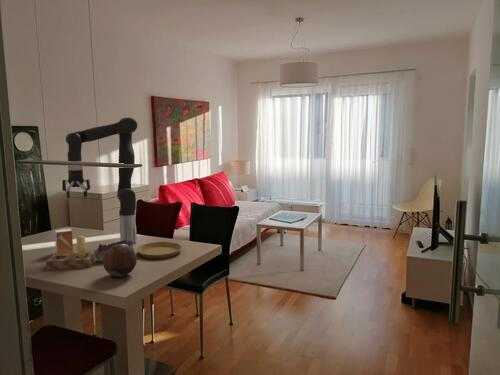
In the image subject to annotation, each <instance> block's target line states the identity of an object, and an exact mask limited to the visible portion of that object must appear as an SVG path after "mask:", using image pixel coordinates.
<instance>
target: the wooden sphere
mask: <svg viewBox="0 0 500 375" xmlns="http://www.w3.org/2000/svg"><path fill="white" fill-rule="evenodd" d="M133 249H134V248H133ZM133 249H132V248H131V247H130V246H128V245H125V244H116V245H113V246H111V247H110V248H109V249H107V251H106V252H105V254H104V256H103V262H102V266H103V268H104V270H105V271H106V272H107V274H109V275H111V276H112V277H117V278H118V277H119V278H120V277H124V276H127V275H129V274H130V273H132V271H133V270H134V269H135V267H136V265H137V260H138V259H137V254H136V253H137V252H136V251H135V249H134V250H133Z"/></svg>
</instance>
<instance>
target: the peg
mask: <svg viewBox="0 0 500 375" xmlns="http://www.w3.org/2000/svg"><path fill="white" fill-rule="evenodd" d="M86 248H87V247H86V236H84V235H79V236H76V253H77V256H78V258H86V253H87V250H86Z"/></svg>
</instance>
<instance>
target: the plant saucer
mask: <svg viewBox="0 0 500 375" xmlns="http://www.w3.org/2000/svg"><path fill="white" fill-rule="evenodd" d="M181 250H182V245H181V244H179V243H176V242H172V241H159V242H158V241H157V242H156V241H155V242H149V243H145V244H142V245H140V246H138V247H137V249H136V251H137V253H138V254H139V255H140V256H141V257H144V258H147V259H152V258H155V259H156V260H157V258H159V259H167V258H171V257H173V256H176V255H177V254H178V253H179V252H180V251H181ZM166 257H167V258H166Z"/></svg>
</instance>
